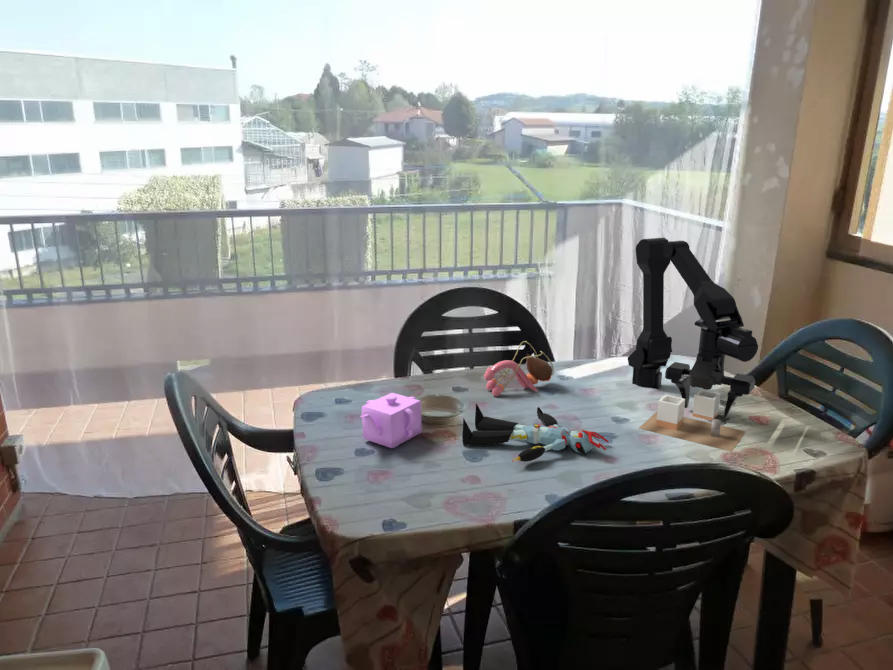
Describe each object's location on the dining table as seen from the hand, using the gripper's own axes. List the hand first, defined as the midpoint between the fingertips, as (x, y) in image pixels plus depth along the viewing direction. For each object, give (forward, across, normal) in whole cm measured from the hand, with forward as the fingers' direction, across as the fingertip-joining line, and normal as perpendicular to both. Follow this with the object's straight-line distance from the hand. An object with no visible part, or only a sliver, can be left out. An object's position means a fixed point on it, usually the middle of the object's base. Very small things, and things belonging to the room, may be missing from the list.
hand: (705, 411), depth 156 cm
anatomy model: (+2, -46, -9) cm, 47 cm away
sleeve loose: (+2, 0, 0) cm, 2 cm away
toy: (+3, -26, -34) cm, 43 cm away
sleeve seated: (+1, -5, -10) cm, 11 cm away
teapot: (+2, -54, -51) cm, 74 cm away
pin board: (+2, 0, -10) cm, 10 cm away
